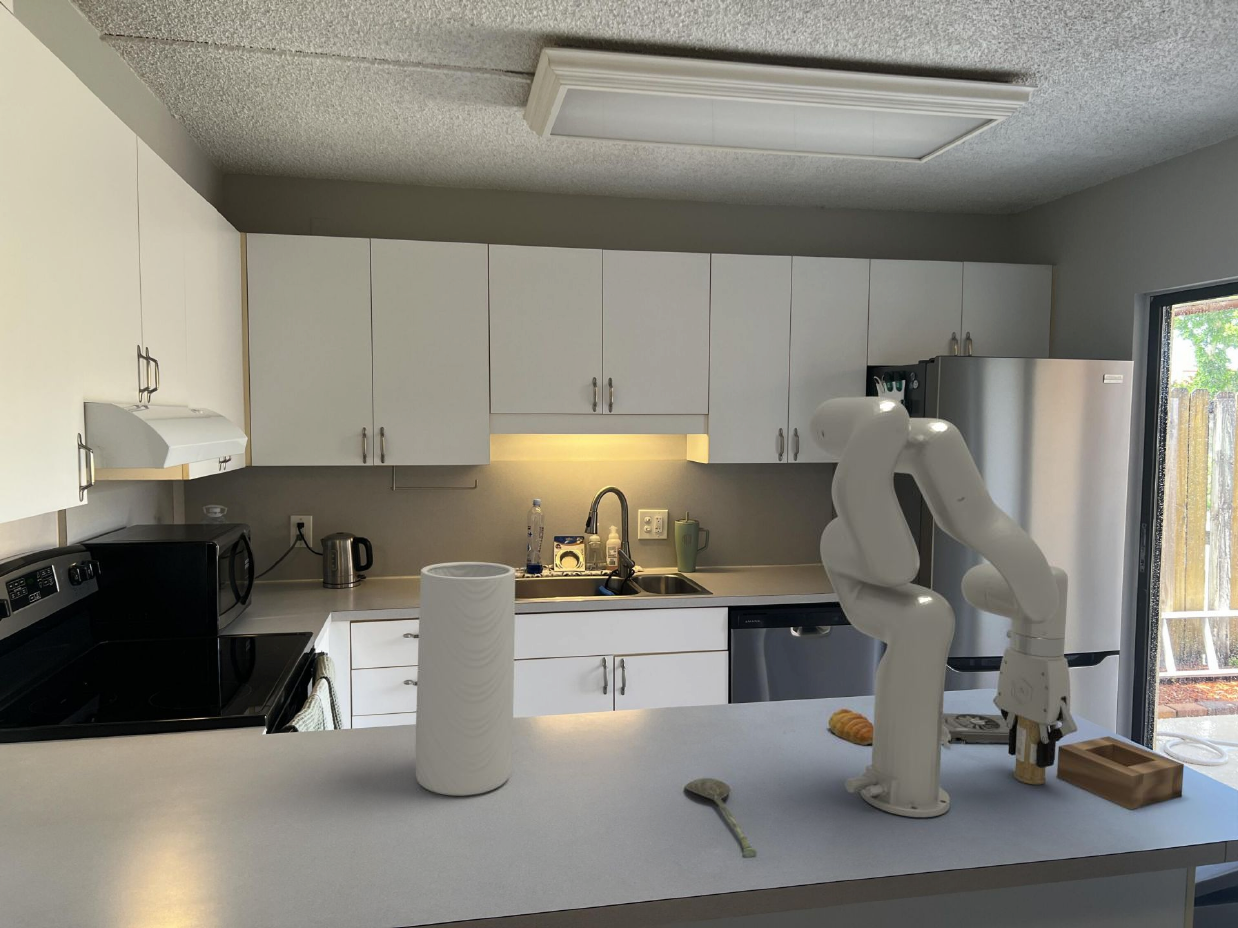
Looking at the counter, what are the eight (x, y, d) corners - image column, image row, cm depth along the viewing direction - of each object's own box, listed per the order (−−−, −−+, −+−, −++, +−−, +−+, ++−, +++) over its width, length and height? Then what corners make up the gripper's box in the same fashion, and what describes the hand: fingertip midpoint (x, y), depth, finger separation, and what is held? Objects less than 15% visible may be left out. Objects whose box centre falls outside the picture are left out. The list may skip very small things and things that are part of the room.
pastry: (888, 745, 145) (889, 723, 145) (855, 749, 143) (856, 727, 142) (854, 726, 154) (855, 705, 154) (823, 730, 151) (824, 709, 151)
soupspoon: (721, 788, 128) (679, 792, 126) (721, 766, 127) (679, 770, 126) (774, 858, 106) (724, 863, 105) (773, 831, 106) (723, 837, 105)
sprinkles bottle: (1044, 788, 129) (1049, 701, 128) (1012, 781, 131) (1016, 696, 130) (1046, 777, 133) (1051, 694, 132) (1014, 770, 135) (1019, 688, 134)
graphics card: (944, 732, 143) (916, 707, 155) (943, 754, 143) (914, 726, 155) (1040, 735, 144) (1004, 709, 156) (1038, 756, 144) (1003, 729, 156)
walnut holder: (1130, 809, 122) (1132, 775, 122) (1056, 777, 133) (1058, 746, 133) (1181, 796, 127) (1183, 763, 127) (1106, 766, 138) (1108, 736, 138)
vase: (505, 800, 119) (510, 579, 117) (404, 797, 119) (408, 576, 117) (517, 759, 133) (522, 562, 132) (426, 757, 133) (430, 560, 131)
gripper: (975, 633, 137) (970, 743, 138) (1069, 661, 121) (1062, 785, 122) (1008, 630, 140) (1002, 737, 141) (1104, 656, 125) (1096, 777, 126)
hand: (1030, 758), depth 132 cm, fingers closed on sprinkles bottle, 4 cm apart
